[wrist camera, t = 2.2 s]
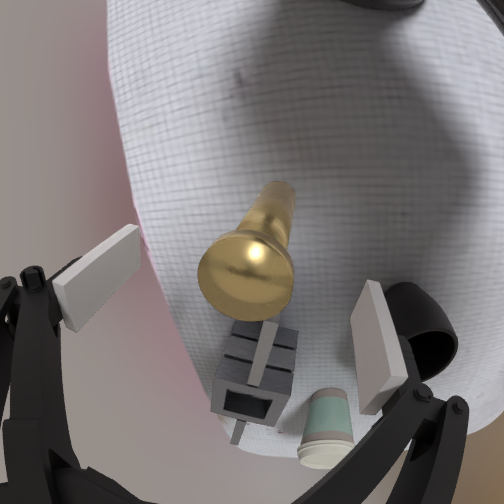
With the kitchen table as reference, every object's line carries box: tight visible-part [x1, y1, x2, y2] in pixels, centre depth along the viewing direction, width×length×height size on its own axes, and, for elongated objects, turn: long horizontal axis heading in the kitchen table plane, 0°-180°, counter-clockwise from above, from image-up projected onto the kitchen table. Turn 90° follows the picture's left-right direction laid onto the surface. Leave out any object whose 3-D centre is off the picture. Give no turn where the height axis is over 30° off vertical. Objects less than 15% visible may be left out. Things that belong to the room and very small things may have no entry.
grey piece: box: [223, 312, 296, 400], centre depth 30 cm, size 17×8×10 cm, turn 171°
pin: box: [198, 181, 296, 321], centre depth 20 cm, size 5×5×15 cm
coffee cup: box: [297, 388, 356, 469], centre depth 34 cm, size 9×8×12 cm
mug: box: [384, 282, 458, 382], centre depth 26 cm, size 8×12×10 cm
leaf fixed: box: [211, 319, 298, 445], centre depth 34 cm, size 17×8×10 cm, turn 171°
